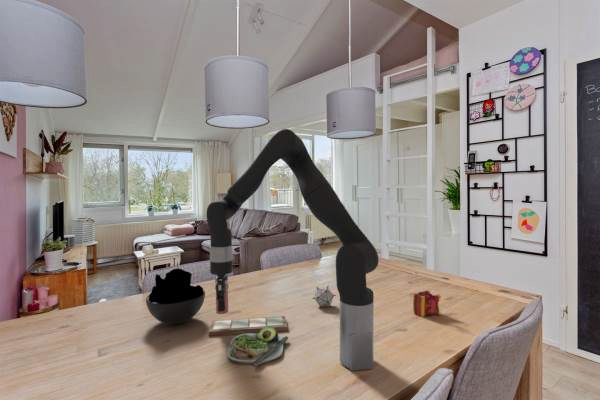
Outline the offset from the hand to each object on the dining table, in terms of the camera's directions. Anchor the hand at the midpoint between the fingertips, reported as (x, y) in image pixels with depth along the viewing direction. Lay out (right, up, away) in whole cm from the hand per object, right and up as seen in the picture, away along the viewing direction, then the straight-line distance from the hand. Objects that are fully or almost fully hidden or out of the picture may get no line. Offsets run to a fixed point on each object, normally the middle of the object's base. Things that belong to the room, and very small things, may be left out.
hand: (222, 308), depth 113 cm
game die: (+36, -7, +21) cm, 43 cm away
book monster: (+75, -7, +11) cm, 76 cm away
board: (+9, -7, +1) cm, 12 cm away
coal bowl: (-18, -7, +7) cm, 21 cm away
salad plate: (+14, -8, -14) cm, 21 cm away
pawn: (0, -1, 0) cm, 1 cm away
